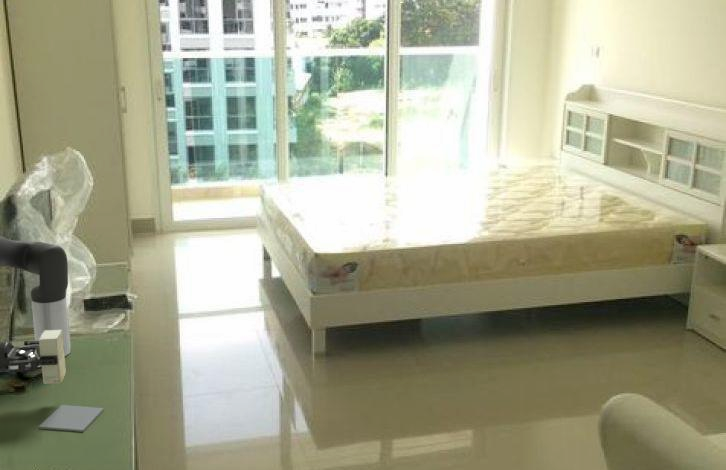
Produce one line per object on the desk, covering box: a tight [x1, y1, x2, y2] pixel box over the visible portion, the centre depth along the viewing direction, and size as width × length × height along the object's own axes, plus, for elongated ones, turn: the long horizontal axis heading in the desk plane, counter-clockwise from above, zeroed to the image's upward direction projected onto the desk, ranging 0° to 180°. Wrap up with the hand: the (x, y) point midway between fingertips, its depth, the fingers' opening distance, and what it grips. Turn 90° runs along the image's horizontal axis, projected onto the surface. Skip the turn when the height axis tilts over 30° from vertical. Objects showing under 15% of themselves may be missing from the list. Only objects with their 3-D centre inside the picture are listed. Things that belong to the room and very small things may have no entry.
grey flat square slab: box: [38, 404, 105, 433], centre depth 182 cm, size 11×11×1 cm
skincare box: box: [39, 330, 67, 385], centre depth 188 cm, size 6×4×12 cm
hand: (60, 354), depth 188 cm, fingers closed on skincare box, 6 cm apart
